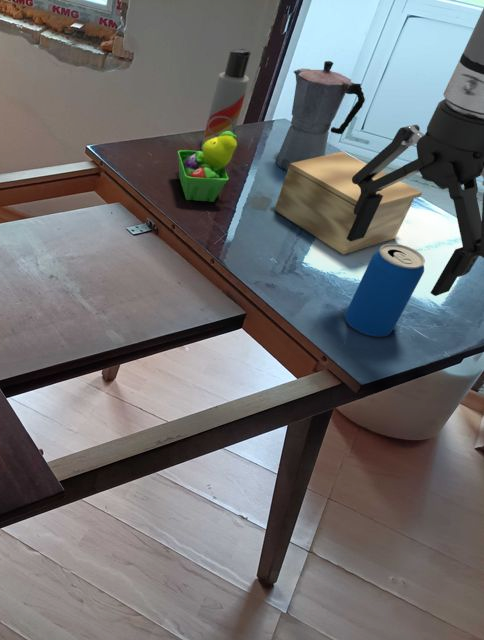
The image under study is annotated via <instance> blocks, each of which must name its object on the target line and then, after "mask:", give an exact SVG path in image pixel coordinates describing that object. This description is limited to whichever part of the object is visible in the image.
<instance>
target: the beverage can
mask: <svg viewBox="0 0 484 640" xmlns="http://www.w3.org/2000/svg"><path fill="white" fill-rule="evenodd" d="M425 263H426V259H425V257H424V255H422V253H420V252H419V251H417V250H416V249H414V248H412V247H409V246H406V245H403V244H398V243H386V244H383V245H381V246H380V248H379V249H378V250H377V251H375V252H374V253H373V254H372V256H371V257H370V260H369V262H368V265H367V267H366V269H365V271H364V273H363V276H362V277H361V278H360V279H361V280H360V282H359V284H358V287H357V288H356V290H355V292H354V295H353V297H352V299H351V301H350V303H349V305H348V307H347V309H346V312H345V314H344V317H345V321H346V322H347V324H348V325H349V326H350V327H352V328H353V329H354V330H356V331H358V332H359V333H361V334H365V335H367V336H370V337H371V336H372V337H386V336H389V335H390V334H391V333H392V332H393V331H394V329H395V327H396V325H397V324H398V321H399V320H400V318H401V316H402V314H403V312H404V311H405V309H406V306H407V305H408V303H409V301H410V300H411V298H412V296H413V293H414V292H415V290H416V288H417V287H418V284H419V282H420V280H421V279H422V277H423V275H424V273H425Z"/></svg>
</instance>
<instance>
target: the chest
mask: <svg viewBox="0 0 484 640" xmlns="http://www.w3.org/2000/svg"><path fill="white" fill-rule="evenodd" d="M286 171H287V172H286V175H285V178H284V181H283V184H282V187H281V189H280V192H279V195H278V198H277V201H276V204H275V207H274V211H275V212H276V213H278V214H280V215H282V216H283V217H285V218H286V219H287V220H289V221H291V222H292V223H293V224H295V225H297V226H299V227H300V228H301V229H303V230H305V231H306V232H308V233H310V234H311V235H312V236H313V237H316V239H318V240H320V241H321V242H323V243H324V244H326V245H327V246H329V247H330V248H332V249H334V250H335V251H337V252H339V253H340V254H342V255H347V254H350V253H352V252H356V251H359V250H363V249H365V248H369V247H372V246H375V245H379V244H382V243H385V242H388V241H392V240H394V239H396V237H397V236H398V233H399V231H400V229H401V227H402V225H403V224H404V223H403V222H404V221H405V218H406V216H407V214H408V213H409V210H410V209H411V206H412V204H413V202H414V199H415V198H414V199H410V200H407V201H403V202H400V203H396V204H393V205H389V206H386V207H382V208H379V209H377V210H376V213H375V215H374V217H373V219H372V221H371V223H370V226H369V228H368V230H367V232H366V234H365V236H364V238H361V239H357V240H354V241H351V242H350V241H349V240H347V236H348V234H349V232H350V230H351V227H352V225H353V223H354V221H355V218H356V216H357V215H355V214H354V208H355V206H356V205H354V204H352V203H351V202H349V201H347V200H345V199H344V198H342V197H340V196H338V195H337V194H335V193H333V192H331V191H330V190H328V189H326V188H324V187H322V186H321V185H319V184H317V183H315V182H314V181H312V180H310V179H308V178H307V177H305V176H303V175H301V174H300V173H298V172H296V171H294V170H292V169H291V168H288V170H286Z"/></svg>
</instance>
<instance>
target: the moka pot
mask: <svg viewBox="0 0 484 640" xmlns="http://www.w3.org/2000/svg"><path fill="white" fill-rule="evenodd" d="M333 65H334V62H333V61H330V60H326V61H324V64H323V69H311V68H298V69H296V70H294V71H293V73H294V74H295V88H294V96H293V102H292V107H291V115H292V117H291V121H290V126H289V128H288V129H287V132H286V135H285V137H284V140H283V142H282V145H281V147H280V149H279V152H278V154H277V156H276V158H275V163H276V164H277V166H278V167H280V168H281V169H283V170H286V171H288V168H289V166H290V163H294V162H298V161H303V160H307V159H311V158H316V157H320V156H325V155H326V149H327V144H328V139H329V133H330V132H331V133H333V134H336V135H343V133H344V132H345V130H346V129H347V128H348V127H349V125H350V123H352V121H353V120H354V118H355V116H356V115H357V114H358V113H359V111H360V110H361V109H362V108H363V105H364V104H365V102H366V98H365V95H364V94H365V93H364V92H363V88H362V87H361V86H362V83H354V82H352V79H351V78H349V77H347V76H345V75H343V74H342V73H340V72H337V71H333V70H332V68H333ZM346 94H347V95H356V96H357V101H356V102H355V104H354V105H353V106H352V109H351V110H350V111H349V113H348V114H347V115H346V117H345V119H344V121H343V122H342V123H341V124H340V126H339V127H335V126H332V122H333V121H334V119H335V118H336V116H337V114H338V111H339V109H340V106H341V104H342V102H343V100H344V99H345V96H346ZM331 126H332V127H331ZM329 131H330V132H329Z"/></svg>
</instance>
